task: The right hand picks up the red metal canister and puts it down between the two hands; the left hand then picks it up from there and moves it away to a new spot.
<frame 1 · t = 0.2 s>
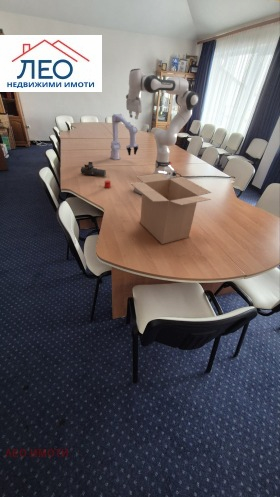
left hand: (132, 154, 230), 10 cm above the table, tool pointing down, fingers open, 7 cm apart
right hand: (133, 118, 170), 48 cm above the table, tool pointing down, fingers open, 8 cm apart
book: (150, 191, 179), on the table
box: (163, 229, 132), on the table
laser sight: (93, 175, 201), on the table
canister: (107, 187, 180), on the table
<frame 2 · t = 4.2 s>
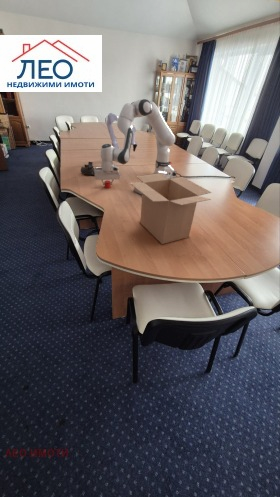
left hand: (131, 151, 253), 7 cm above the table, tool pointing down, fingers open, 7 cm apart
right hand: (107, 184, 179), 2 cm above the table, tool pointing down, fingers closed on canister, 5 cm apart
canister: (107, 187, 180), on the table, touching right hand
everything else where it was.
when the right hand's fingers open (3 cm above the table, at t = 16.9 s): canister stays where it is, on the table.
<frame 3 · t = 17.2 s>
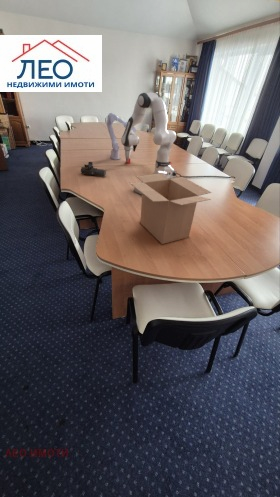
left hand: (131, 151, 253), 7 cm above the table, tool pointing down, fingers open, 7 cm apart
right hand: (128, 160, 237), 3 cm above the table, tool pointing down, fingers open, 8 cm apart
canister: (127, 163, 239), on the table
everything else where it was.
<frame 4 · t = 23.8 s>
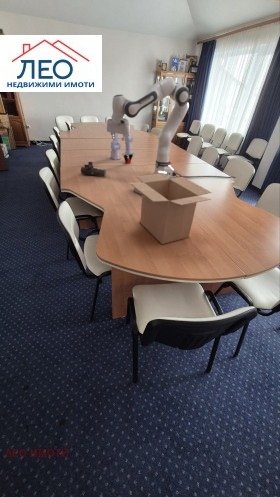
left hand: (128, 161, 238), 1 cm above the table, tool pointing down, fingers closed on canister, 5 cm apart
right hand: (118, 139, 179), 32 cm above the table, tool pointing down, fingers open, 8 cm apart
canister: (128, 163, 239), on the table, touching left hand
everything else where it was.
when the left hand's fingers open (2 cm above the table, at t = 30.2 s): canister stays where it is, on the table.
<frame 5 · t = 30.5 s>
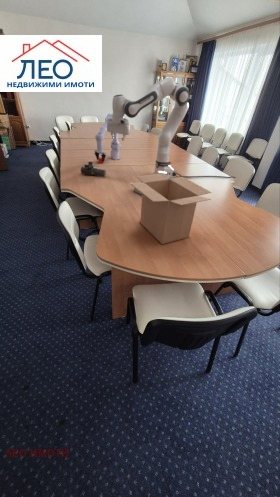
left hand: (100, 160, 233), 2 cm above the table, tool pointing down, fingers open, 7 cm apart
right hand: (118, 139, 179), 32 cm above the table, tool pointing down, fingers open, 8 cm apart
canister: (100, 162, 234), on the table
everything else where it was.
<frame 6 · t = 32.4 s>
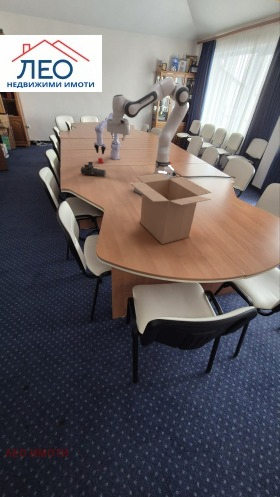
left hand: (100, 153, 228), 9 cm above the table, tool pointing down, fingers open, 7 cm apart
right hand: (118, 139, 179), 32 cm above the table, tool pointing down, fingers open, 8 cm apart
nothing on the table moved.
at the end: canister inside the target area (0.1 cm from its centre), on the table; canister tilted 0°; the two hands never held the canister at the same time; the left hand is holding nothing; the right hand is holding nothing; canister at rest at the end (0.0 cm/s) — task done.
